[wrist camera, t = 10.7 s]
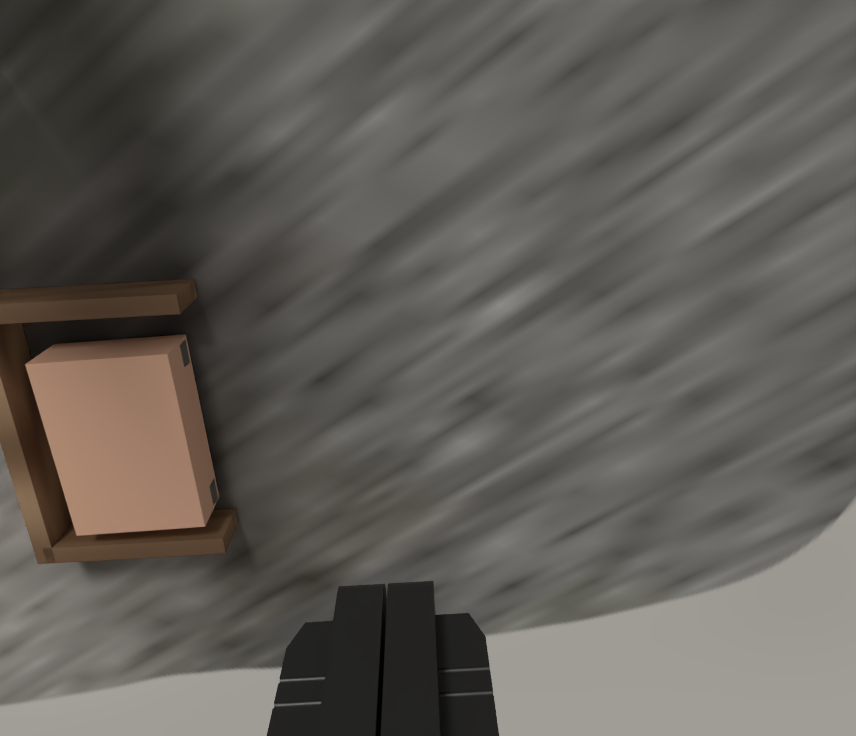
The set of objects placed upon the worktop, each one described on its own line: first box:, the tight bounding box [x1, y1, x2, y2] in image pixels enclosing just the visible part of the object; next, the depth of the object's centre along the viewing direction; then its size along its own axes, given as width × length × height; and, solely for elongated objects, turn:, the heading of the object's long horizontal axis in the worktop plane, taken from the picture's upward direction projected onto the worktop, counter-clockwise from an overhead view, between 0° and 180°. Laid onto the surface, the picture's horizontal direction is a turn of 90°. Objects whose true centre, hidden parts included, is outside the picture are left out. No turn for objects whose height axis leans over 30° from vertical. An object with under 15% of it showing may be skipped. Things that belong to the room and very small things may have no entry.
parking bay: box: [0, 279, 238, 564], centre depth 38 cm, size 15×10×3 cm
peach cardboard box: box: [25, 335, 219, 536], centre depth 38 cm, size 10×7×4 cm
